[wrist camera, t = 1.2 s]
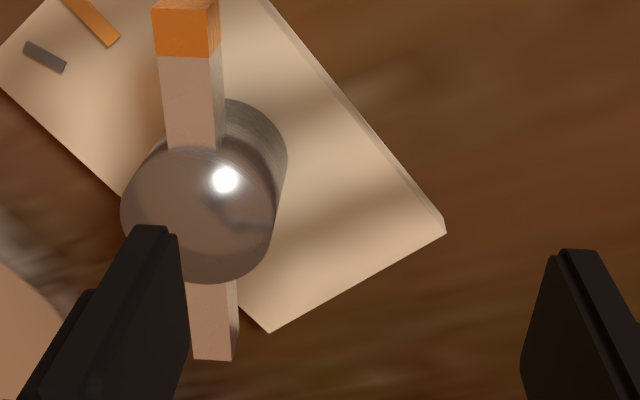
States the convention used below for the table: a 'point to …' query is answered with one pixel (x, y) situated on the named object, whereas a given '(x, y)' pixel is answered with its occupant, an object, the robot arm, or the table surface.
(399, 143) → the table surface
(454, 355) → the table surface
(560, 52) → the table surface
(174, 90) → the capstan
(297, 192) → the stand
